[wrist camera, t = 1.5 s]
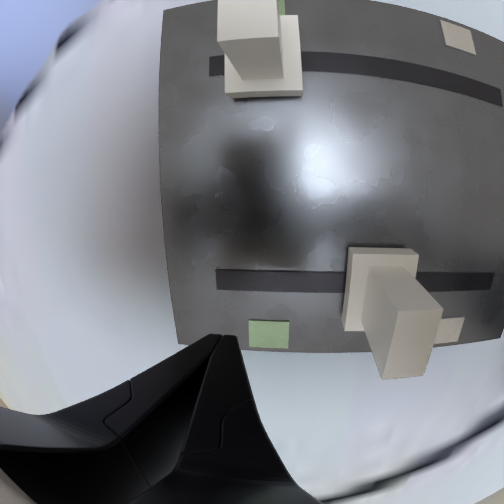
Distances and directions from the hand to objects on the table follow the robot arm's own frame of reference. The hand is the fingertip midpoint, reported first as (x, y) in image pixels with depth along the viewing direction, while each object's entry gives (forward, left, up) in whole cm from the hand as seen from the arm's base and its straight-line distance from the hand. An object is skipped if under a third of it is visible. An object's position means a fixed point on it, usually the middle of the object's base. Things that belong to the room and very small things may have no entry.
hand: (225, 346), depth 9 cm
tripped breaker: (-6, 0, -5) cm, 8 cm away
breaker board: (-6, -5, -7) cm, 11 cm away
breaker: (-1, -10, -5) cm, 11 cm away
